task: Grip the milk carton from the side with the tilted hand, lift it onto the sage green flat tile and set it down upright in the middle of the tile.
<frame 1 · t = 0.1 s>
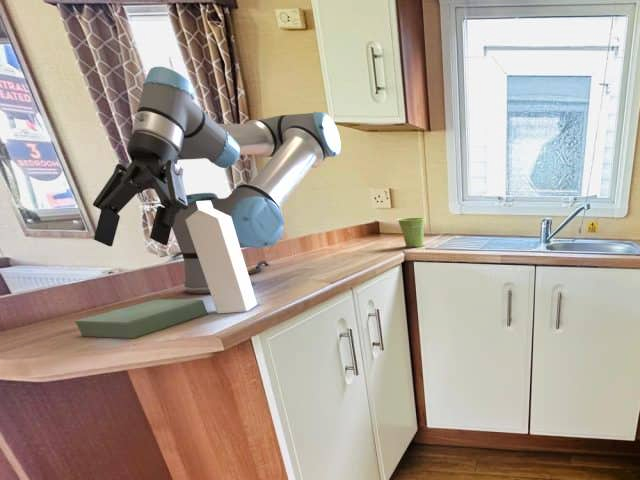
hand: (130, 242, 81), 15 cm above the countertop, tool tilted 35°, fingers open, 13 cm apart
sage green flat tile: (149, 324, 84), on the countertop
plant pot: (415, 246, 182), on the countertop
milk: (238, 309, 93), on the countertop
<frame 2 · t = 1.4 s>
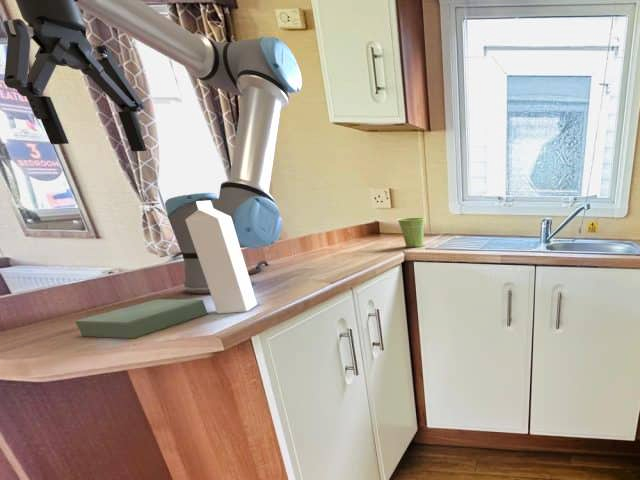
hand: (102, 148, 76), 31 cm above the countertop, tool pointing down, fingers open, 13 cm apart
nothing on the countertop moved.
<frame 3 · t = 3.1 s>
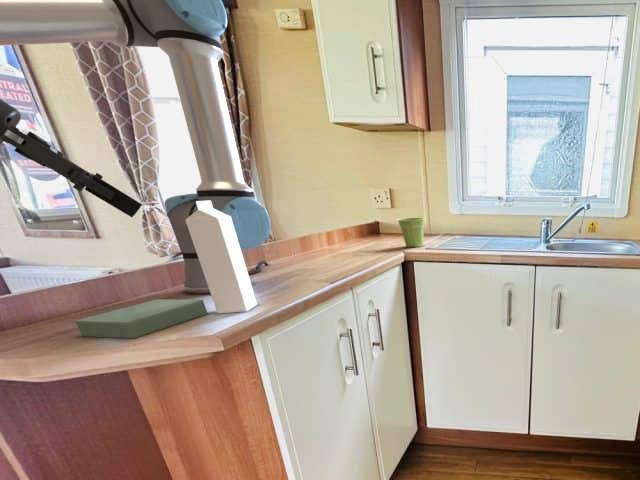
hand: (137, 210, 78), 21 cm above the countertop, tool tilted 45°, fingers open, 13 cm apart
nothing on the countertop moved.
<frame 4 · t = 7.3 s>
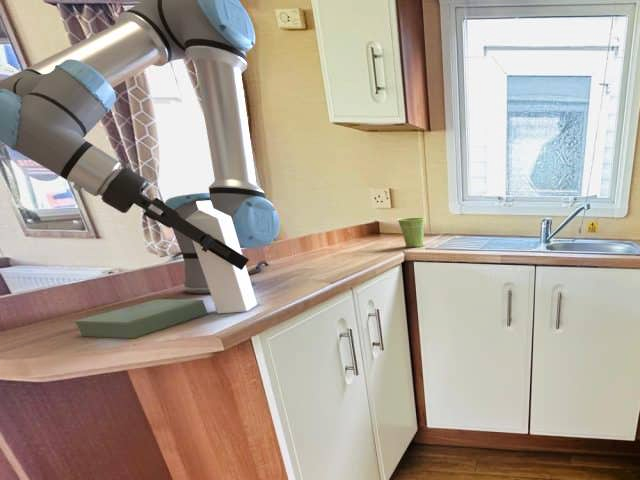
hand: (241, 262, 91), 10 cm above the countertop, tool tilted 45°, fingers closed on milk, 8 cm apart
milk: (238, 309, 93), on the countertop, touching gripper
everything else where it was.
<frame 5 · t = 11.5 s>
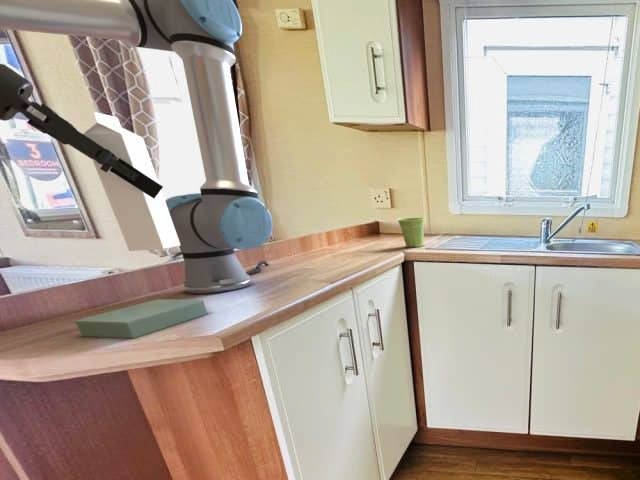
hand: (158, 193, 79), 24 cm above the countertop, tool tilted 45°, fingers closed on milk, 8 cm apart
milk: (156, 249, 82), point 14 cm above the countertop, touching gripper
everything else where it was.
when the fingers open (13 cm above the countertop, at t = 15.7 s): milk stays where it is, resting on sage green flat tile.
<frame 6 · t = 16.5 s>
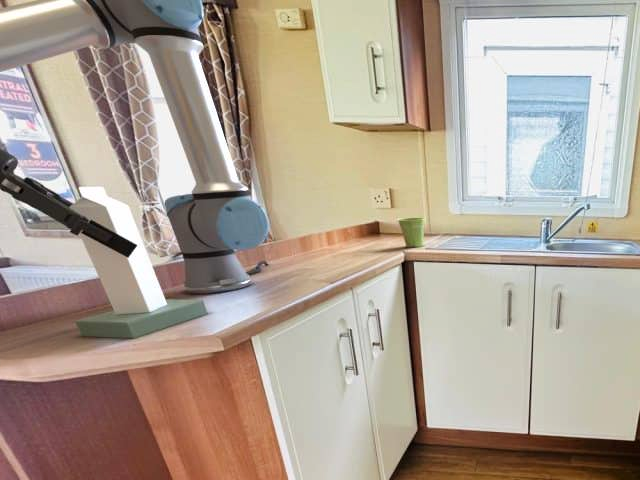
hand: (134, 248, 80), 14 cm above the countertop, tool tilted 45°, fingers open, 13 cm apart
milk: (143, 310, 83), point 3 cm above the countertop, touching sage green flat tile
everything else where it was.
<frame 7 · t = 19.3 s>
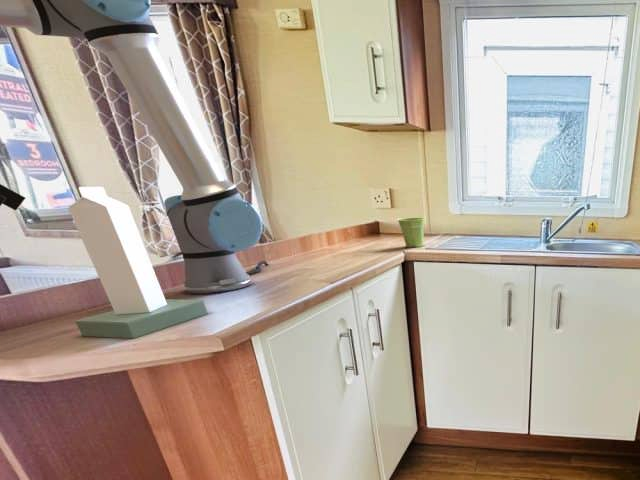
hand: (11, 204, 69), 23 cm above the countertop, tool tilted 45°, fingers open, 13 cm apart
nothing on the countertop moved.
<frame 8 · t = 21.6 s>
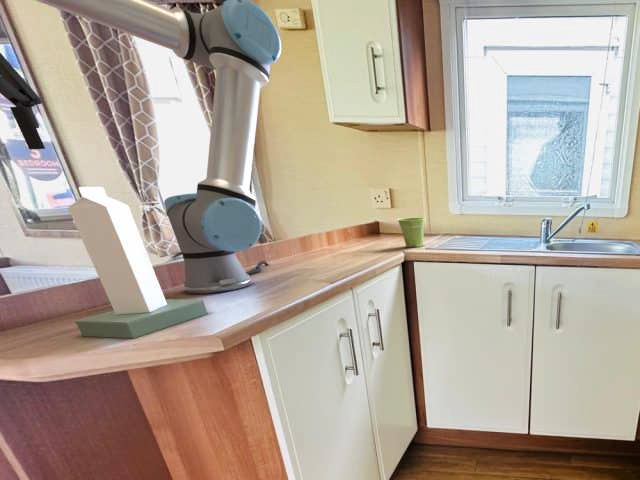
nothing on the countertop moved.
at the end: milk inside the target area on the sage green flat tile (0.1 cm from its centre), point 2.8 cm above the sage green flat tile's base; milk tilted 0°; the gripper is holding nothing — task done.
